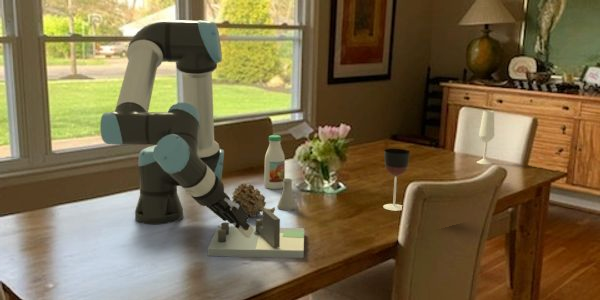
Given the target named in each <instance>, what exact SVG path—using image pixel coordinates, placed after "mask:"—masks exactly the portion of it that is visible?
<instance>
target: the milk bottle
mask: <svg viewBox="0 0 600 300" xmlns="http://www.w3.org/2000/svg"><path fill="white" fill-rule="evenodd" d="M268 142H269V145H268V147H267V150H266V153H265V155H264V176H263V177H264V181H263V182H264V183H263V184H264V188H266V189H270V190H279V189H280V190H281V189H283V188H284V181H283V179H285V178H286V177H285V174H286V173H285V171H286V170H285V169H286V168H285V167H286V163H285V161H286V160H285V159H286V158H285V157H286V156H285V153H284V151H283V148H282V145H281V142H282V137H281V135H278V134H272V135H269V136H268Z"/></svg>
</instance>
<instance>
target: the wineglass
mask: <svg viewBox="0 0 600 300" xmlns="http://www.w3.org/2000/svg"><path fill="white" fill-rule="evenodd" d="M383 153H384V154H383V155H384V156H383V157H384V165H385V169H386V171H387V172H388V173H389V174H390V175H392V176H394V182H393V183H394V185H393V199H392V200H393V201H392V202H393V203H387V204H384V205H383V206H382V207H383V209H385V210H389V211H396V212H397V211H403V210H402V206H403V205H401V204H398V203H396V198H397V197H396V196H397V180H398V179H397V178H398V176H400V175H403V174H405V173H406V171H407V169H408V167H409V164H410V163H409V161H410V154H411V152H410V151H409V150H407V149H402V148H386V149H384V151H383Z"/></svg>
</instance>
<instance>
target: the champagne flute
mask: <svg viewBox="0 0 600 300" xmlns="http://www.w3.org/2000/svg"><path fill="white" fill-rule="evenodd" d="M480 121H481V122H480V127H479V132H478V136H479V138H480V139H481V141H482V142H484V146H483V147H484V148H483V156H482V157H483V158H482V159H480V160H478V161H476V163H477V164H480V165H492V162H491V161H490V160H488V159H487V149H488V148H487V147H488V143H489V142H490V141H491V140H493V139H494V137H495V111H493V110H482V116H481V120H480Z"/></svg>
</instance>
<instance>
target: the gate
mask: <svg viewBox="0 0 600 300" xmlns="http://www.w3.org/2000/svg"><path fill="white" fill-rule="evenodd" d="M268 209H269V208H267V209H266V210H263V211H262V218H257V219H255V227H256V232H258V233H259V234H260V235H261V236H262V237H263V238H264V239H265V240H266V241H268V242H269V243H270V244H271V245H272V246H273V247H274V248H276V247H280V228H281V222H280V221H281V218H279V217H278V216H276V214H274V213H272V212H271V211H269V210H268Z"/></svg>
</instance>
